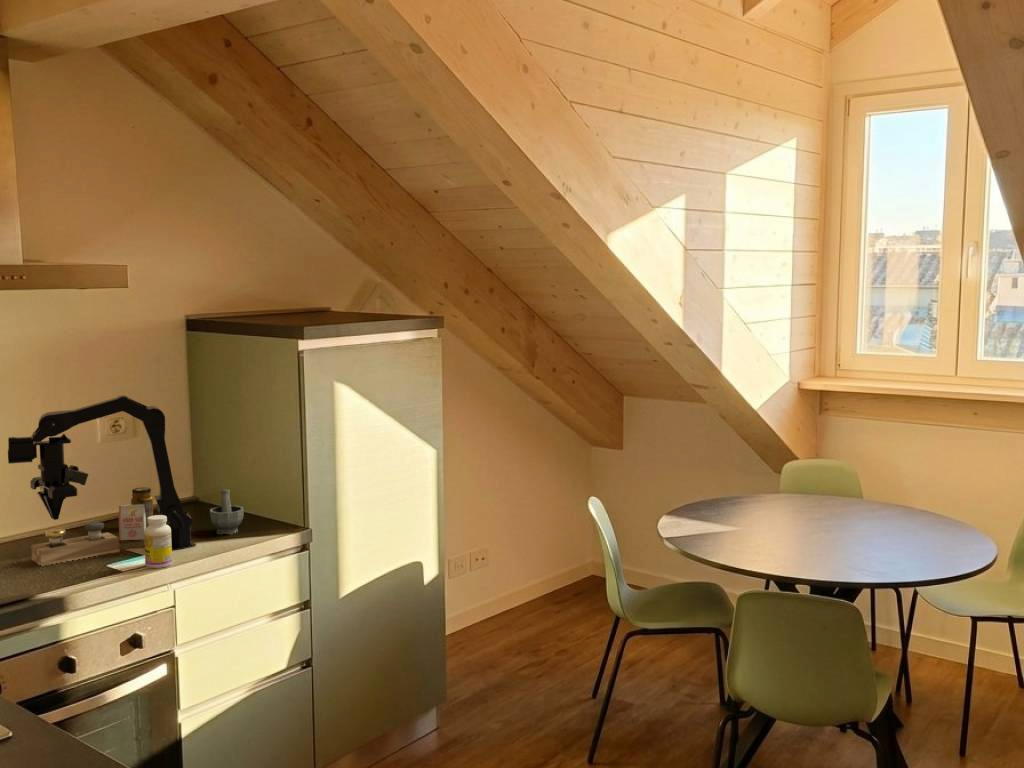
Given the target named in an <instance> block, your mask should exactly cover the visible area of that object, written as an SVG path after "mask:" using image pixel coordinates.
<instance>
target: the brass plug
mask: <svg viewBox="0 0 1024 768" xmlns="http://www.w3.org/2000/svg"><path fill="white" fill-rule="evenodd" d="M64 536H66V529H65V528H52V529H48V530H45V538H48V542H49V547H50V548H53V547H59V546H63V540H64V539H63V537H64Z"/></svg>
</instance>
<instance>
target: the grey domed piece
mask: <svg viewBox="0 0 1024 768" xmlns="http://www.w3.org/2000/svg"><path fill="white" fill-rule="evenodd" d="M104 529H105V523H104V522H89V523H86V524H84V531H85V532H86V531H87V536H88V540H89V541H94V540H100V539H101V533H102V531H103V530H104Z"/></svg>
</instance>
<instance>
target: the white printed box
mask: <svg viewBox="0 0 1024 768" xmlns="http://www.w3.org/2000/svg"><path fill="white" fill-rule="evenodd" d="M145 528H146V515H145V507H144V505H131V504H127V505H125V504H124V505H118V538H119V541H121V540H141V541H144V530H145ZM121 542H122V541H121Z"/></svg>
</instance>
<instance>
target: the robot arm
mask: <svg viewBox="0 0 1024 768" xmlns="http://www.w3.org/2000/svg"><path fill="white" fill-rule="evenodd" d="M122 412H124V413H126V414H127V415H128V414H129V415H130V416H132V417H133V418H136V419H138V420H139V421H141V423H142V425H143V428H144V430H145V431H146V434H147V437H148V439H149V442H150V446H151V451H152V457H153V462H154V466H155V471H156V475H157V480H158V481H157V482H158V485H159V495H154V499H155V502H156V504H157V505H156V510H157V512H158V515H165V516H167V522H168V523H169V524H168V526H169V527H170V528H171V543H172V551H173V550H174V551H175V550H180V549H185V548H191V547H196V546H197V544H196V543H195V542H193V541H192V535H191V533H192V530H191V529H192V528H191V525H192V523H193V518H192V516H191V515H190V513H189V512H188V511H187V510H185V509H184V506H183V504H182V501H181V499H180V497H179V495H178V491H177V489H176V488H175V483H174V479H173V474H172V470H171V464H170V460H169V458H170V457H169V453H168V450H167V445H166V438H165V437H166V416H165V413H164V412H163V410H161V409H160V408H159V407H157V406H156V405H149V406H147V405H145V404H143V403H141V402H139V401H136V400H135V399H132V398H131V397H129V396H127V395H125V394H122V395H119V396H117V397H114V398H110V399H107V400H103V401H100V402H97V403H93V404H90V405H86V406H83V407H79V408H76V409H67V410H56V411H48V412H45V413H44V414H41V416H40V418H39V419H38V426H37V428H36V429H35V430H34V432H32V435H31V436H23V437H22V436H20V437H19V436H18V437H16V436H8V438H7V439H8V440H7V442H8V448H7V457H8V458H7V459H8V460H7V461H8V465H9V464H10V465H11V464H23V463H24V464H25V463H26V464H27V463H33V462H34V461H33V460H35V459H37V458H38V453H37V452H38V451H37V449H38V448H37V446H39V463H40V464H39V463H38V465H37V468H38V470H40V476H35V477H32V479H31V480H30V483H29V484H30V489H32V490H37V488H40V491H37V495H38V496H39V498H40V500H41V501H42V503H43V505H44V507H45V509H46V511H47V513H48V515H49V516H50V518H51V519H52V520H55V521H56V520H59V519H60V513H61V512H62V511H61V509H62V507H63V504H64V501H65V499H67V498H71V497H77V496H78V488H77V487H76V486H75V485H73V484H71V483H75V484H78V485H79V484H80V485H81V486H86V483H87V481H88V478H89V473H87V472H85V471H82V470H79V467H78V466H76V465H73V464H70V465H68V464H67V463H65V451H64V449H65V448H64V444H66V445H67V444H71V443H72V441H71V439H72V438H70V437H68V436H67V435H66V434H65V433H64V432H66V431H69V430H70V429H72V428H74V427H76V426H77V425H80V424H83V423H87V422H90V421H93V420H97V419H101V418H103V417H107V416H109V415H114V414H117V413H122ZM60 434H61V435H60ZM58 435H60V436H58ZM47 438H48V440H45V439H47Z"/></svg>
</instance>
